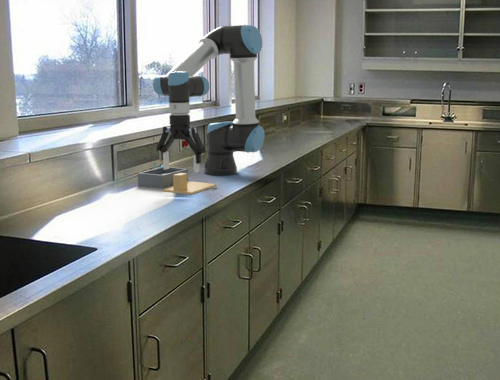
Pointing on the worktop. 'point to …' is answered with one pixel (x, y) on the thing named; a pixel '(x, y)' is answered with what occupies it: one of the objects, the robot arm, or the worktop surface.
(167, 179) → the tub
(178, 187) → the lid
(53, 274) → the worktop surface
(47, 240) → the worktop surface
